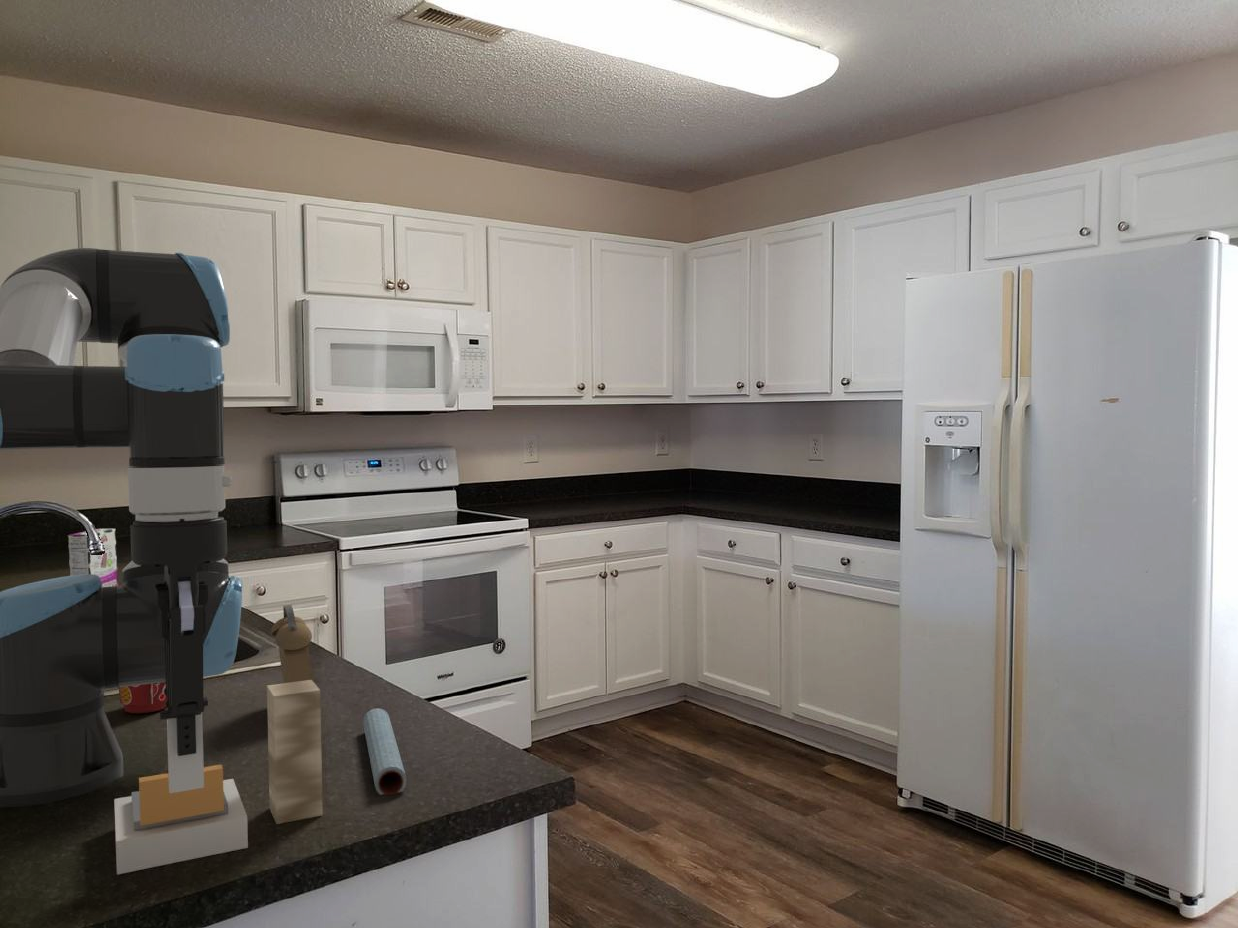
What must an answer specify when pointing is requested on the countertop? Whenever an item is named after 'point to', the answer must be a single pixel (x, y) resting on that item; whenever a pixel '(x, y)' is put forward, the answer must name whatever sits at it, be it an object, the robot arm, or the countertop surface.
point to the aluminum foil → (383, 753)
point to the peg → (294, 751)
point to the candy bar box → (94, 557)
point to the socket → (179, 835)
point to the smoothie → (143, 697)
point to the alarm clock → (293, 646)
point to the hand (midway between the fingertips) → (186, 787)
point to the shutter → (177, 800)
